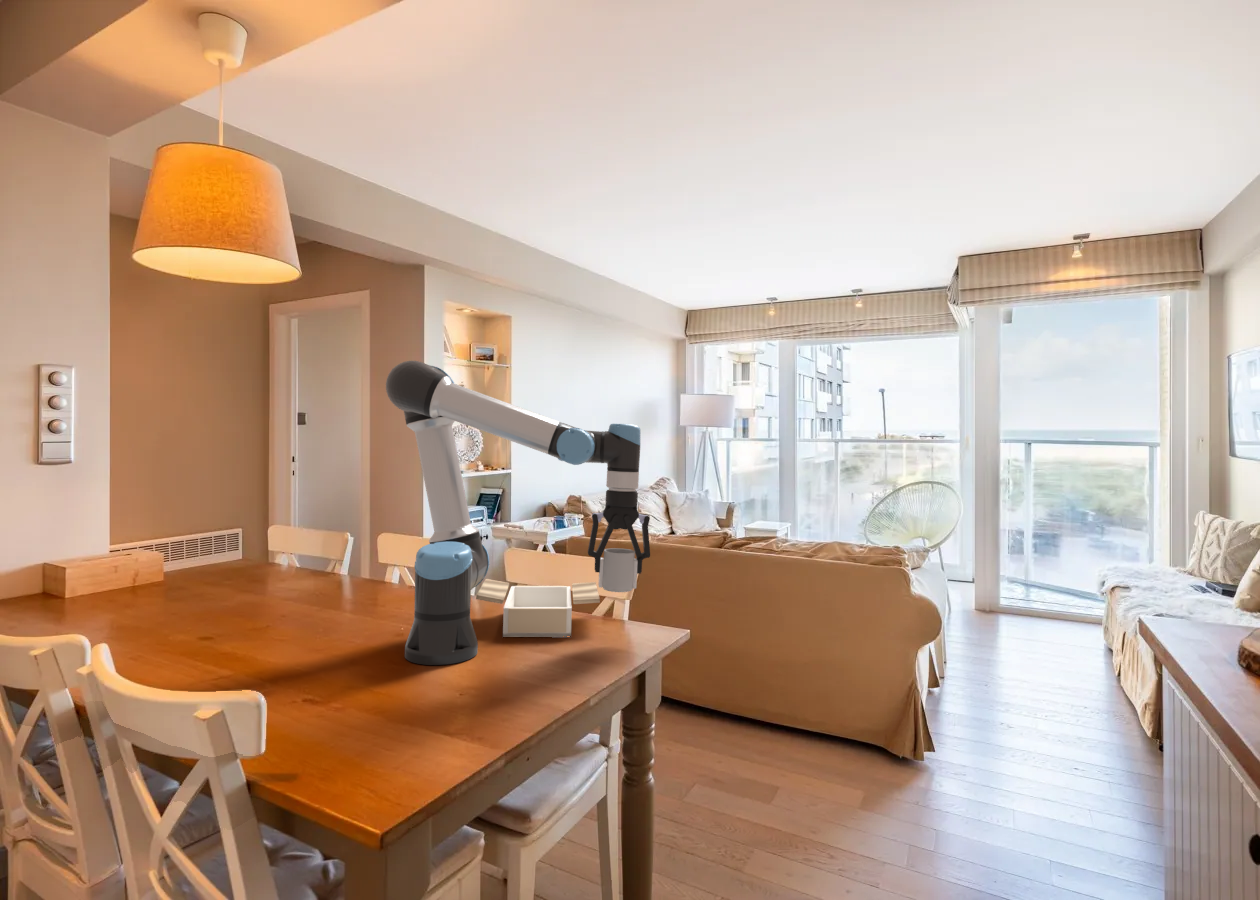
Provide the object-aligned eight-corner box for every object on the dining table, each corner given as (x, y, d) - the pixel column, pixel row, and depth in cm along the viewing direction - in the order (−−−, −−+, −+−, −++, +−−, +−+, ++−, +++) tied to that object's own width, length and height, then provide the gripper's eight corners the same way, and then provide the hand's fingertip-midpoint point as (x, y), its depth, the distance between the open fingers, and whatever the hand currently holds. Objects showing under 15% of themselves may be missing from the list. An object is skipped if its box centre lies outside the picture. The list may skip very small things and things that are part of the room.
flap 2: (573, 600, 160) (573, 604, 160) (599, 598, 160) (599, 602, 161) (571, 583, 179) (572, 587, 179) (595, 582, 179) (595, 585, 179)
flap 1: (476, 594, 157) (475, 599, 157) (503, 599, 158) (502, 603, 158) (485, 578, 176) (485, 582, 176) (509, 583, 177) (508, 586, 177)
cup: (596, 589, 152) (598, 551, 152) (615, 582, 162) (617, 545, 162) (625, 594, 150) (627, 554, 149) (642, 586, 159) (644, 549, 159)
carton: (571, 638, 157) (571, 608, 157) (502, 638, 155) (503, 608, 155) (569, 611, 182) (570, 585, 182) (510, 611, 180) (511, 585, 180)
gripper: (662, 490, 160) (657, 584, 160) (578, 486, 158) (574, 582, 158) (666, 492, 153) (661, 591, 153) (579, 488, 150) (574, 589, 151)
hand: (617, 586), depth 155 cm, fingers closed on cup, 7 cm apart
